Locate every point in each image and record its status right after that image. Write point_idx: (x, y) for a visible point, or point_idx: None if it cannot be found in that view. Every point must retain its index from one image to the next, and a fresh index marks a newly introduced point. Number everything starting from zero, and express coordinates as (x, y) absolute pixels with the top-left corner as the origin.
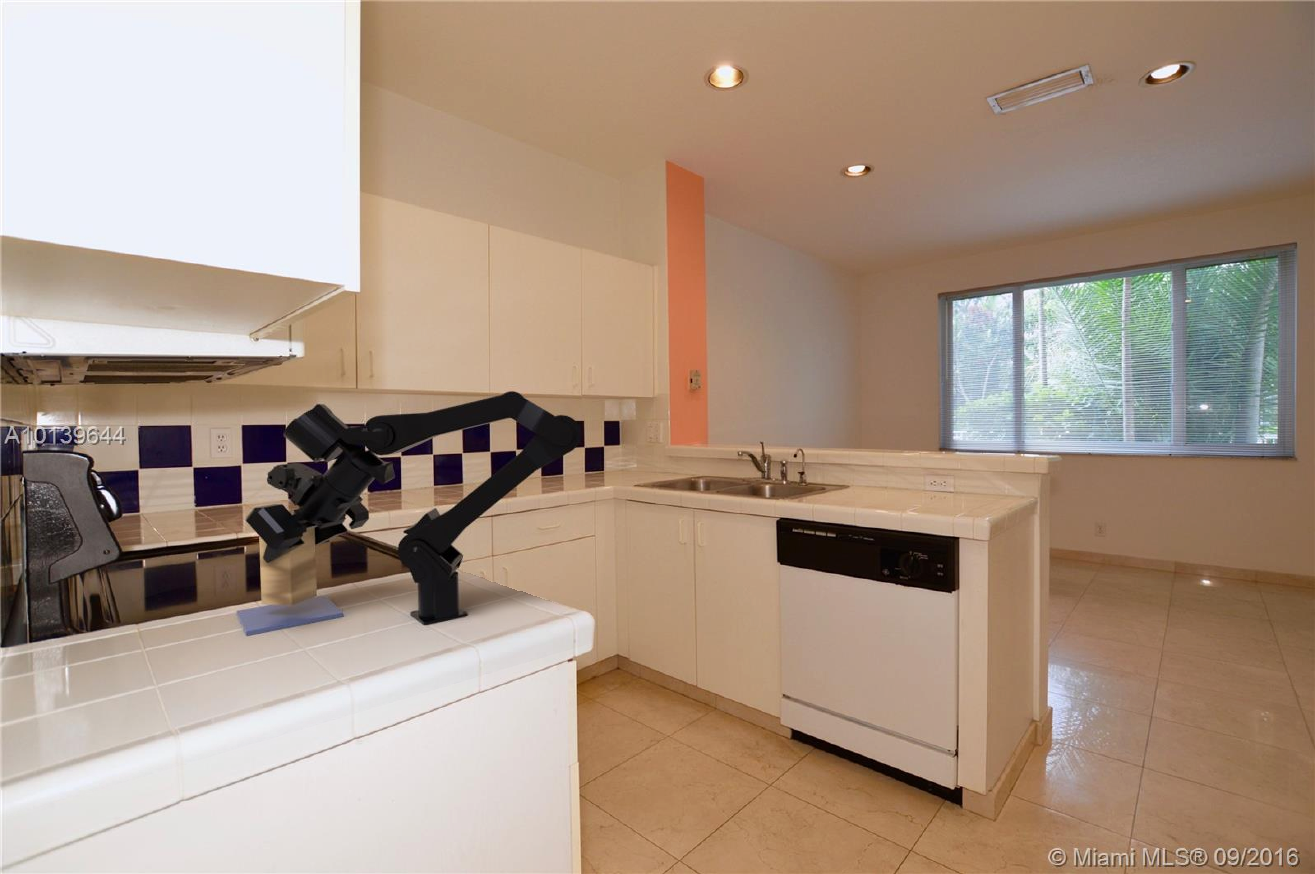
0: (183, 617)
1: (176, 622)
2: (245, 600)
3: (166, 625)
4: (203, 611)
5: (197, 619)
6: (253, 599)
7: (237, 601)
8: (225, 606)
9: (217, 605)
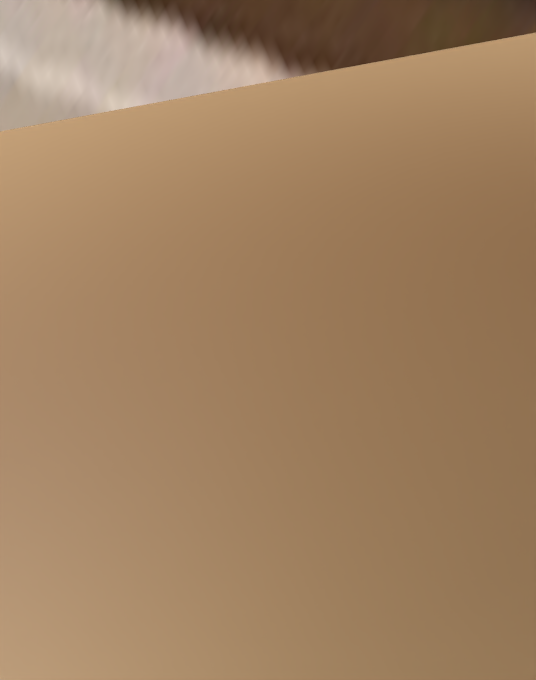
0: (93, 32)
1: (43, 68)
2: (330, 41)
3: (5, 69)
4: (171, 28)
5: (96, 105)
6: (353, 57)
7: (309, 24)
8: (247, 44)
9: (243, 3)
